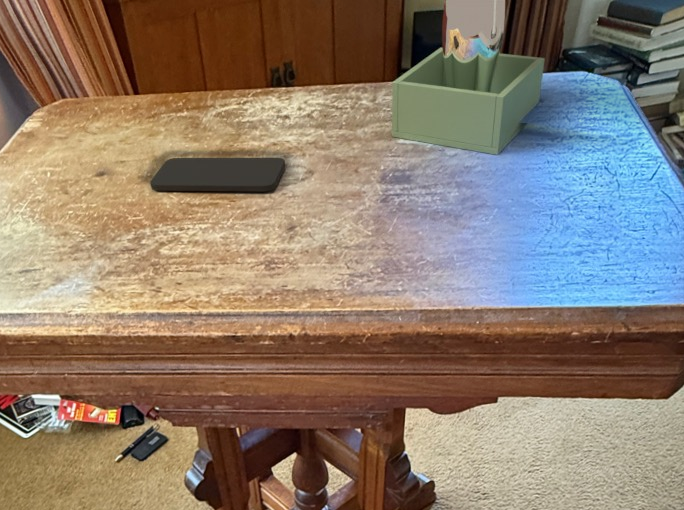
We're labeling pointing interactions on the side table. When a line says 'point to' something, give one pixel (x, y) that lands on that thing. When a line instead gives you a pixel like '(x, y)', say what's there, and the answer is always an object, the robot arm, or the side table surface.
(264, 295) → the side table surface
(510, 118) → the bin
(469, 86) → the beer glass
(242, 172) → the phone
